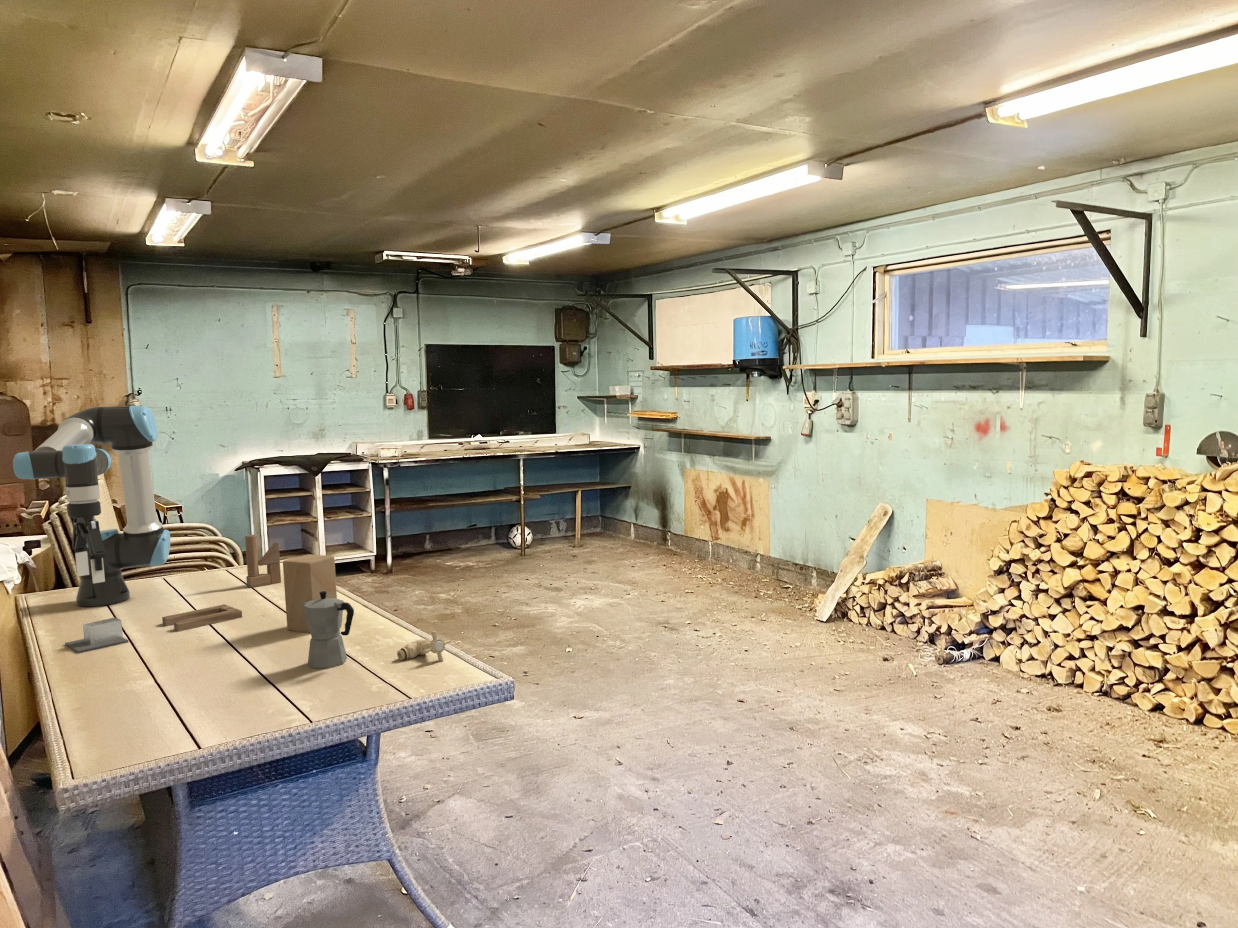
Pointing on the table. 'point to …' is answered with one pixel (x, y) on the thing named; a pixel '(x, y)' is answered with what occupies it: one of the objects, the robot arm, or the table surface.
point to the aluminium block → (102, 631)
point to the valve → (423, 648)
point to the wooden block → (306, 585)
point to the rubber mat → (81, 646)
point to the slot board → (202, 617)
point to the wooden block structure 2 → (269, 559)
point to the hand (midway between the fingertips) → (91, 578)
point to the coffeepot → (327, 631)
